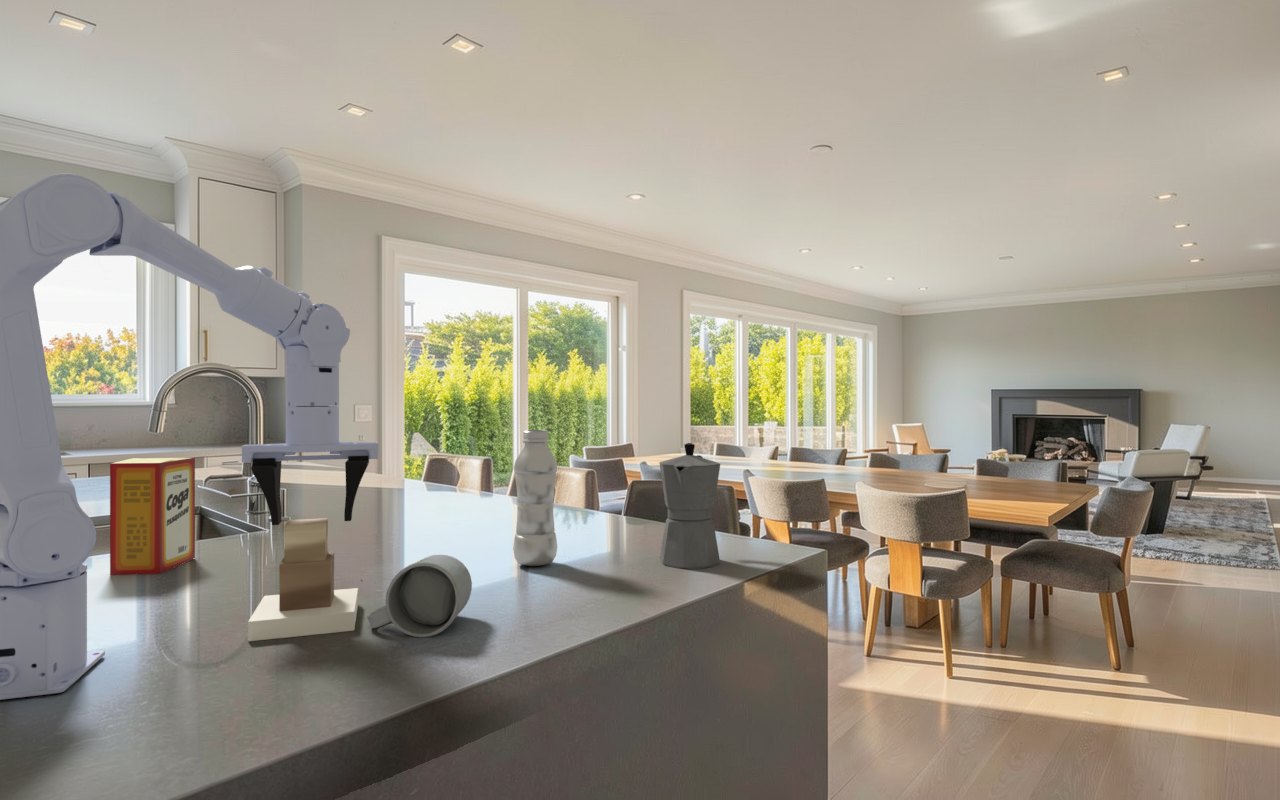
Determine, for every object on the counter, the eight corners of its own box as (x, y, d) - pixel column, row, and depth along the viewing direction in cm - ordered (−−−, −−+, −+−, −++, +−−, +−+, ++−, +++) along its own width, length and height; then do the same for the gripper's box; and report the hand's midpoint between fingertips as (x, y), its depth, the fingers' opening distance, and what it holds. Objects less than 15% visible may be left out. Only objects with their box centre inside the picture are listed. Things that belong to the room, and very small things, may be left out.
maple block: (325, 560, 77) (325, 523, 77) (284, 563, 75) (284, 526, 75) (327, 552, 80) (327, 518, 80) (289, 555, 79) (289, 520, 79)
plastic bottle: (505, 568, 102) (505, 431, 102) (525, 558, 109) (525, 429, 109) (545, 571, 100) (545, 431, 100) (564, 561, 107) (564, 429, 107)
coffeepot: (712, 574, 99) (712, 446, 99) (647, 570, 102) (647, 445, 102) (729, 551, 114) (729, 440, 114) (672, 548, 116) (672, 439, 116)
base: (354, 630, 75) (354, 611, 75) (248, 641, 71) (248, 621, 71) (358, 604, 84) (358, 587, 84) (264, 613, 81) (264, 595, 81)
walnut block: (330, 606, 77) (330, 560, 77) (279, 611, 75) (279, 564, 75) (334, 594, 81) (334, 551, 81) (286, 598, 80) (286, 554, 80)
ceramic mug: (475, 613, 81) (474, 546, 81) (459, 637, 73) (457, 563, 73) (382, 616, 81) (381, 549, 81) (355, 640, 72) (354, 565, 72)
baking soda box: (149, 559, 108) (149, 455, 108) (194, 558, 109) (194, 455, 109) (110, 575, 99) (110, 460, 99) (159, 573, 99) (159, 460, 99)
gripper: (378, 405, 89) (379, 513, 89) (249, 406, 84) (250, 519, 84) (377, 406, 83) (378, 522, 83) (237, 407, 78) (237, 530, 78)
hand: (312, 521), depth 83 cm, fingers open, 7 cm apart
